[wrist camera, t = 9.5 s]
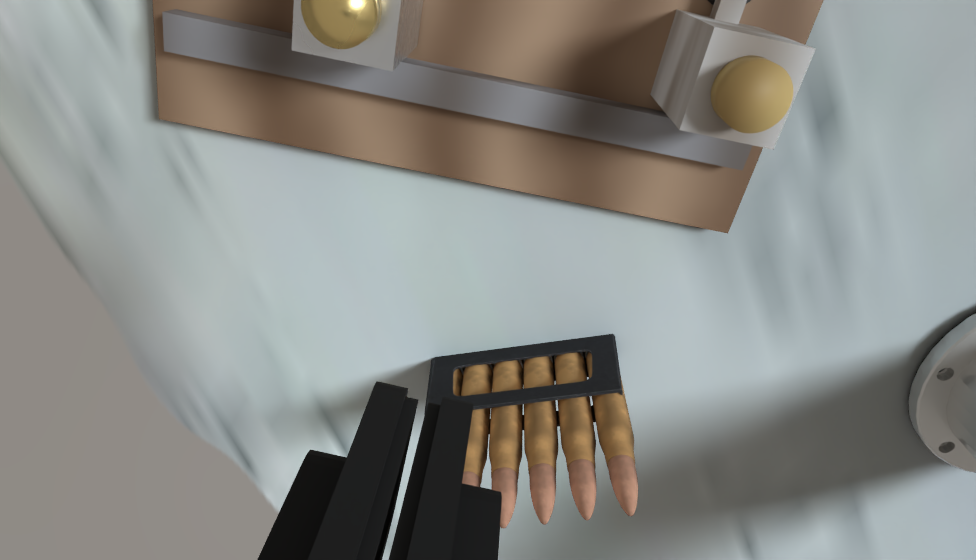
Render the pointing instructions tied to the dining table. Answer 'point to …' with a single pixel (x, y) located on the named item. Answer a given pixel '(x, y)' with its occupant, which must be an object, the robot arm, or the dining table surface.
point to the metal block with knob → (357, 30)
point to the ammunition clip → (543, 418)
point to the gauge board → (515, 94)
